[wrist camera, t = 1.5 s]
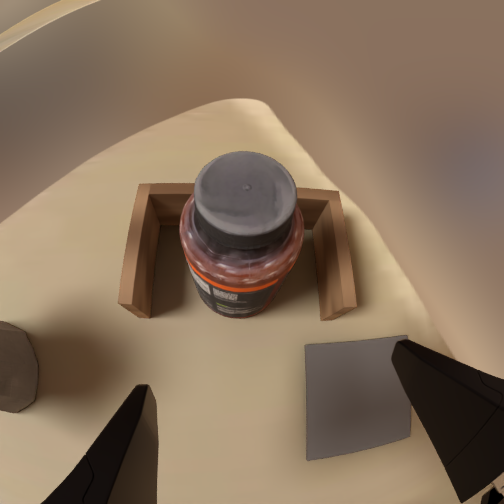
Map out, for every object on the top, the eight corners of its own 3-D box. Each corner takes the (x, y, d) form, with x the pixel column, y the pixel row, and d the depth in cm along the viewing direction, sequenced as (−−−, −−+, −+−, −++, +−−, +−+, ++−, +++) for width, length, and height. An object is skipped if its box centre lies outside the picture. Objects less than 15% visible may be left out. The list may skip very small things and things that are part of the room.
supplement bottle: (263, 236, 25) (293, 127, 14) (287, 308, 23) (350, 239, 11) (188, 253, 24) (161, 146, 12) (206, 329, 22) (184, 280, 10)
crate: (331, 320, 23) (356, 306, 18) (138, 317, 21) (117, 303, 17) (321, 220, 27) (338, 191, 22) (151, 215, 25) (139, 183, 21)
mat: (407, 436, 19) (410, 436, 18) (306, 459, 18) (307, 460, 18) (405, 335, 23) (407, 334, 22) (304, 345, 22) (305, 344, 22)
